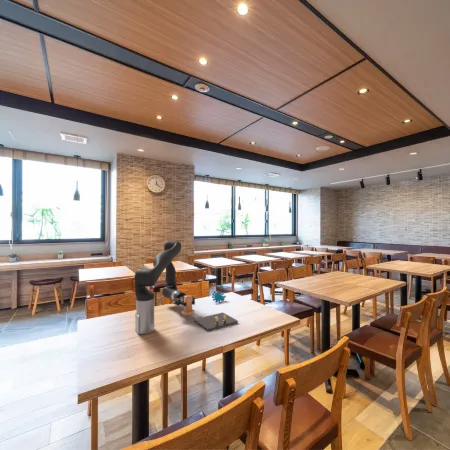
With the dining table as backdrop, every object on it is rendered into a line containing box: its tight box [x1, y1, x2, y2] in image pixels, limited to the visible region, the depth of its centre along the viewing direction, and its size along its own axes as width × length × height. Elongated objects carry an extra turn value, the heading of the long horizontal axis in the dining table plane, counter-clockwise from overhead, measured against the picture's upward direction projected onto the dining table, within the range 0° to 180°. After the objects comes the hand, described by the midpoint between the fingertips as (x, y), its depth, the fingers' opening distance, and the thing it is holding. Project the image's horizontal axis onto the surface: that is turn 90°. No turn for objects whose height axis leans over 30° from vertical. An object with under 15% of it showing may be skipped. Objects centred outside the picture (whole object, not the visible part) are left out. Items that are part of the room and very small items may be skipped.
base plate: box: [193, 312, 239, 333], centre depth 141 cm, size 20×16×6 cm
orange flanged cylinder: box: [181, 294, 195, 316], centre depth 146 cm, size 8×8×10 cm
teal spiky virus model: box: [211, 290, 227, 304], centre depth 179 cm, size 11×6×10 cm
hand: (189, 303), depth 144 cm, fingers closed on orange flanged cylinder, 5 cm apart
